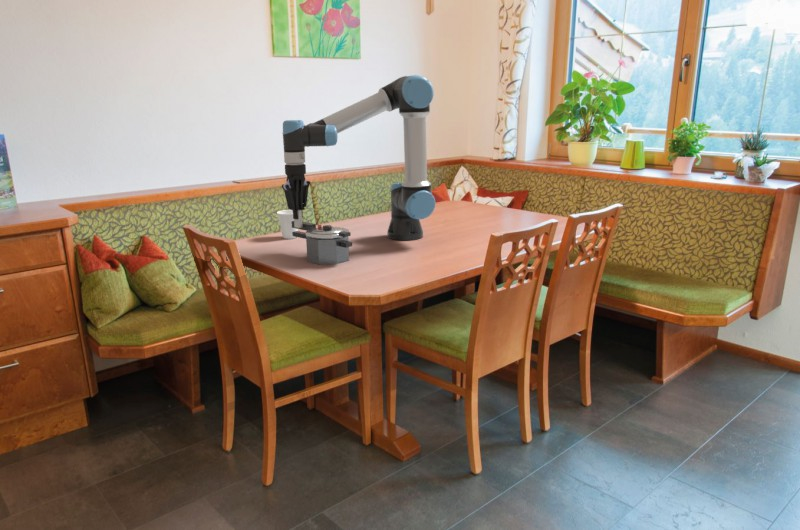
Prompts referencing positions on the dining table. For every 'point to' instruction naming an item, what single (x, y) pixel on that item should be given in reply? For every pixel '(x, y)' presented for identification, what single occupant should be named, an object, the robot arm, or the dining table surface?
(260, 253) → the dining table surface
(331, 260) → the cooker pot
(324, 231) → the lid
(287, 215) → the cup
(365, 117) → the robot arm
